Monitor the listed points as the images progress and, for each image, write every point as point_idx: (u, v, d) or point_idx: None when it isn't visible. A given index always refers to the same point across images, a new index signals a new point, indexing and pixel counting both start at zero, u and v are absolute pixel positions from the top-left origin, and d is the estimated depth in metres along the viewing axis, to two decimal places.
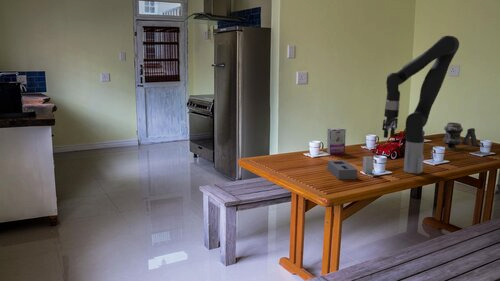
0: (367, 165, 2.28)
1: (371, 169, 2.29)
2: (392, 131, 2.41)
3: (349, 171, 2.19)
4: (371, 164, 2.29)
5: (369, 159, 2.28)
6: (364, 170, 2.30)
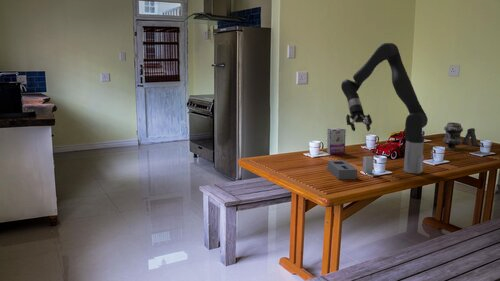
0: (367, 165, 2.28)
1: (371, 169, 2.29)
2: (367, 126, 2.40)
3: (349, 171, 2.19)
4: (371, 164, 2.29)
5: (369, 159, 2.28)
6: (364, 170, 2.30)
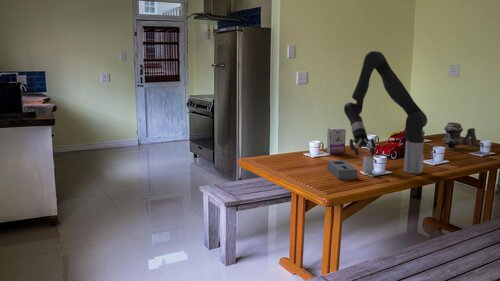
0: (367, 165, 2.28)
1: (371, 169, 2.29)
2: (370, 150, 2.36)
3: (349, 171, 2.19)
4: (371, 164, 2.29)
5: (369, 159, 2.28)
6: (364, 170, 2.30)
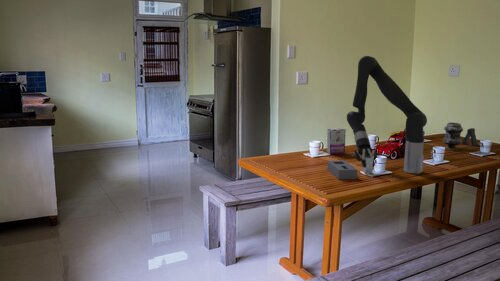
0: (367, 165, 2.28)
1: (371, 169, 2.29)
2: None
3: (349, 171, 2.19)
4: (371, 164, 2.29)
5: (369, 159, 2.28)
6: (364, 170, 2.30)
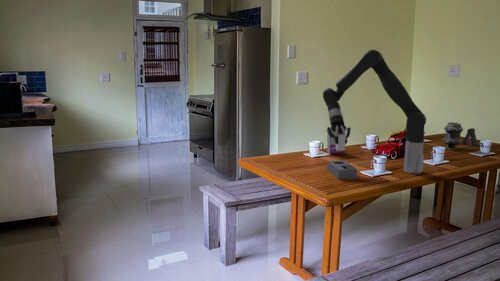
0: (339, 142, 2.29)
1: (343, 145, 2.30)
2: None
3: (349, 171, 2.19)
4: (343, 141, 2.30)
5: (341, 136, 2.29)
6: (337, 147, 2.32)
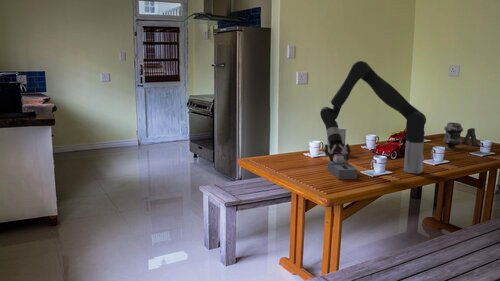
0: (337, 163, 2.32)
1: None
2: (345, 156, 2.34)
3: (349, 171, 2.19)
4: (341, 162, 2.32)
5: (339, 157, 2.31)
6: None
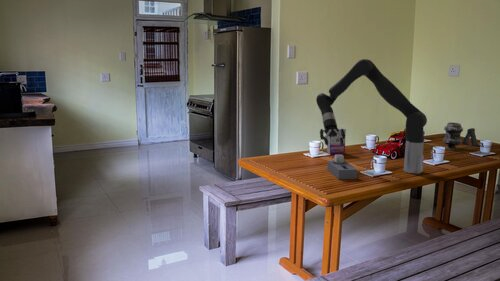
0: (337, 163, 2.32)
1: None
2: (340, 140, 2.42)
3: (349, 171, 2.19)
4: (341, 162, 2.32)
5: (339, 157, 2.31)
6: None
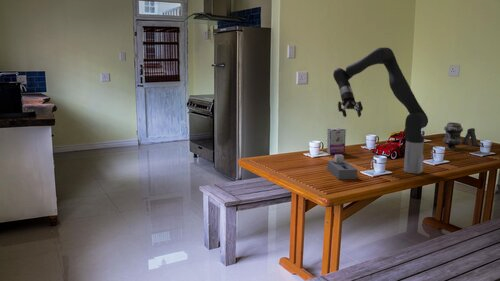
0: (337, 163, 2.32)
1: None
2: (358, 112, 2.48)
3: (349, 171, 2.19)
4: (341, 162, 2.32)
5: (339, 157, 2.31)
6: None
